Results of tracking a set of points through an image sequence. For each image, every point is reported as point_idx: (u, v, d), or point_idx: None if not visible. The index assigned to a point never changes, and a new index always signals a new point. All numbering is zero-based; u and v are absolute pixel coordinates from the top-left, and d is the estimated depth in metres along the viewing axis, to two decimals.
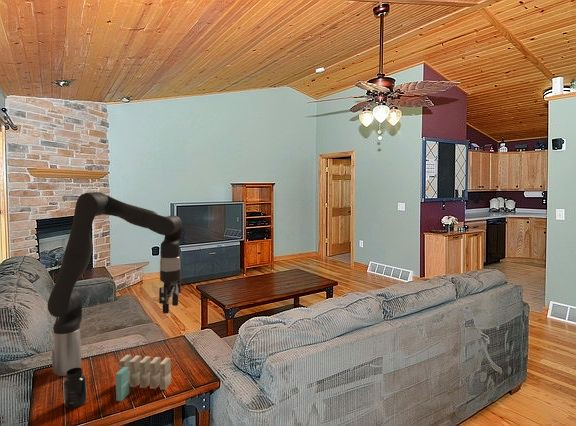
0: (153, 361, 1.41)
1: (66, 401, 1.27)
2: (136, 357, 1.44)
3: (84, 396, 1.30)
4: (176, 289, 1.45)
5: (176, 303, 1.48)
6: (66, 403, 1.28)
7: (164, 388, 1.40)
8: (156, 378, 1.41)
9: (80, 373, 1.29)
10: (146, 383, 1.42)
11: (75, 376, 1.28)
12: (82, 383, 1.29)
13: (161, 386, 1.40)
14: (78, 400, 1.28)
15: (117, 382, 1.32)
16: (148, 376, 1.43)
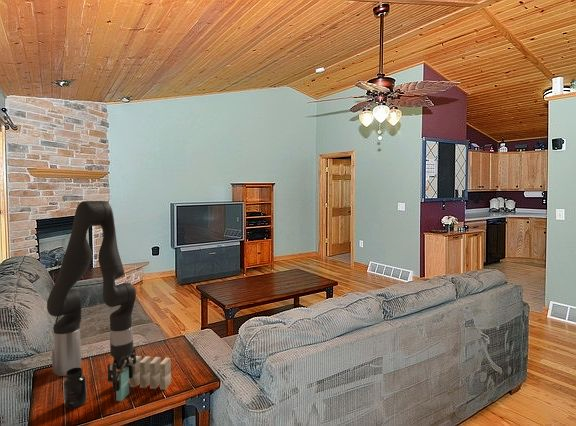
0: (153, 361, 1.41)
1: (66, 401, 1.27)
2: (136, 357, 1.44)
3: (84, 396, 1.30)
4: (129, 362, 1.35)
5: (130, 375, 1.38)
6: (66, 403, 1.28)
7: (164, 388, 1.40)
8: (156, 378, 1.41)
9: (80, 373, 1.29)
10: (146, 383, 1.42)
11: (75, 376, 1.28)
12: (82, 383, 1.29)
13: (161, 386, 1.40)
14: (78, 400, 1.28)
15: None
16: (148, 376, 1.43)
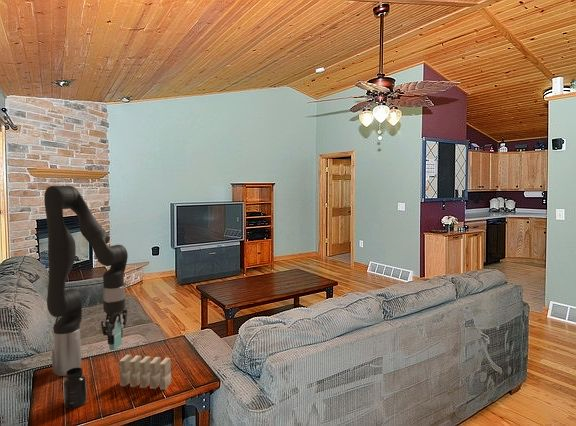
0: (153, 361, 1.41)
1: (66, 401, 1.27)
2: (136, 357, 1.44)
3: (84, 396, 1.30)
4: (120, 319, 1.44)
5: None
6: (66, 403, 1.28)
7: (164, 388, 1.40)
8: (156, 378, 1.41)
9: (80, 373, 1.29)
10: (146, 383, 1.42)
11: (75, 376, 1.28)
12: (82, 383, 1.29)
13: (161, 386, 1.40)
14: (78, 400, 1.28)
15: None
16: (148, 376, 1.43)
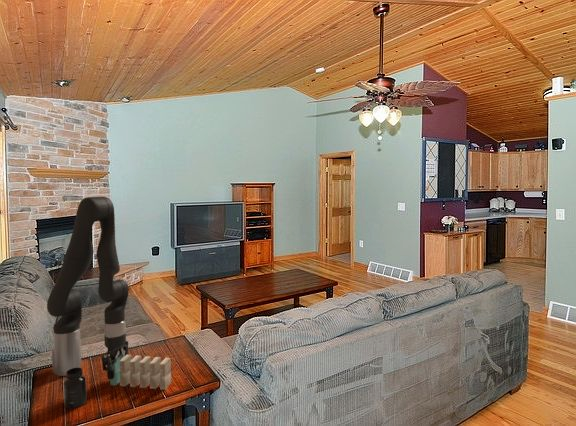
0: (153, 361, 1.41)
1: (66, 401, 1.27)
2: (136, 357, 1.44)
3: (84, 396, 1.30)
4: (122, 353, 1.45)
5: None
6: (66, 403, 1.28)
7: (164, 388, 1.40)
8: (156, 378, 1.41)
9: (80, 373, 1.29)
10: (146, 383, 1.42)
11: (75, 376, 1.28)
12: (82, 383, 1.29)
13: (161, 386, 1.40)
14: (78, 400, 1.28)
15: None
16: (148, 376, 1.43)
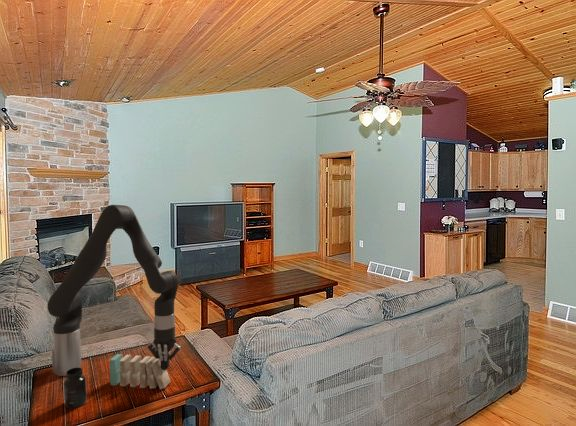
0: (149, 361, 1.41)
1: (66, 401, 1.27)
2: (136, 357, 1.44)
3: (84, 396, 1.30)
4: (164, 349, 1.39)
5: None
6: (66, 403, 1.28)
7: (163, 386, 1.40)
8: (155, 377, 1.41)
9: (80, 373, 1.29)
10: (146, 383, 1.42)
11: (75, 376, 1.28)
12: (82, 383, 1.29)
13: (160, 386, 1.40)
14: (78, 400, 1.28)
15: (111, 367, 1.42)
16: None
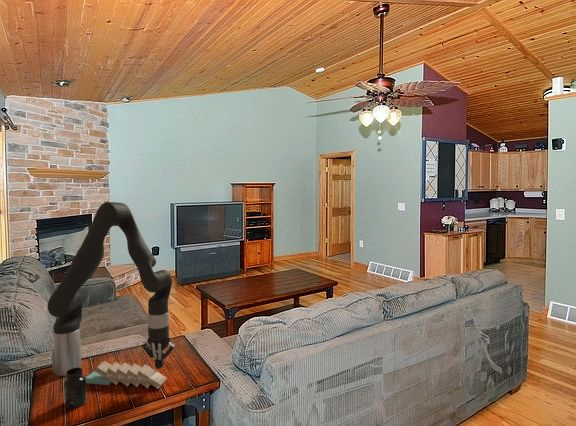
0: None
1: (66, 401, 1.27)
2: None
3: (84, 396, 1.30)
4: (158, 348, 1.40)
5: None
6: (66, 403, 1.28)
7: (159, 384, 1.40)
8: None
9: (80, 373, 1.29)
10: None
11: (75, 376, 1.28)
12: (82, 383, 1.29)
13: (156, 386, 1.40)
14: (78, 400, 1.28)
15: (92, 382, 1.43)
16: None
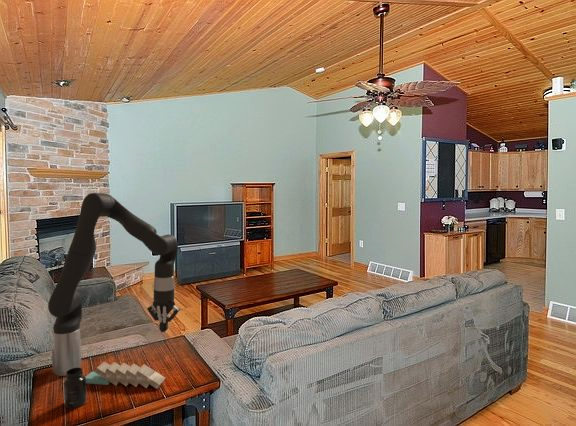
0: None
1: (66, 401, 1.27)
2: None
3: (84, 396, 1.30)
4: (163, 311, 1.42)
5: None
6: (66, 403, 1.28)
7: (158, 384, 1.40)
8: None
9: (80, 373, 1.29)
10: None
11: (75, 376, 1.28)
12: (82, 383, 1.29)
13: (155, 386, 1.40)
14: (78, 400, 1.28)
15: (91, 382, 1.43)
16: None
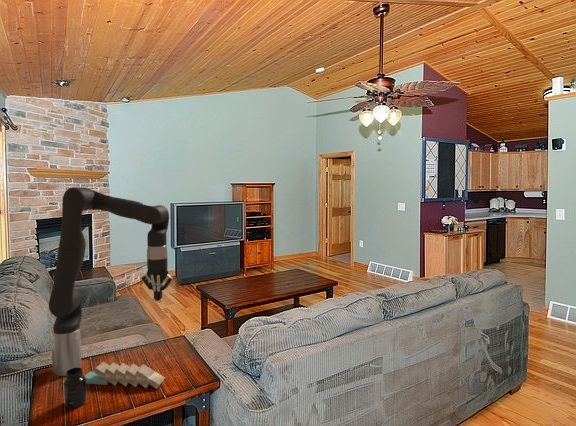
0: None
1: (66, 401, 1.27)
2: None
3: (84, 396, 1.30)
4: (156, 279, 1.45)
5: None
6: (66, 403, 1.28)
7: (157, 384, 1.40)
8: None
9: (80, 373, 1.29)
10: None
11: (75, 376, 1.28)
12: (82, 383, 1.29)
13: (154, 386, 1.40)
14: (78, 400, 1.28)
15: (89, 382, 1.43)
16: None
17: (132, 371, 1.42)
